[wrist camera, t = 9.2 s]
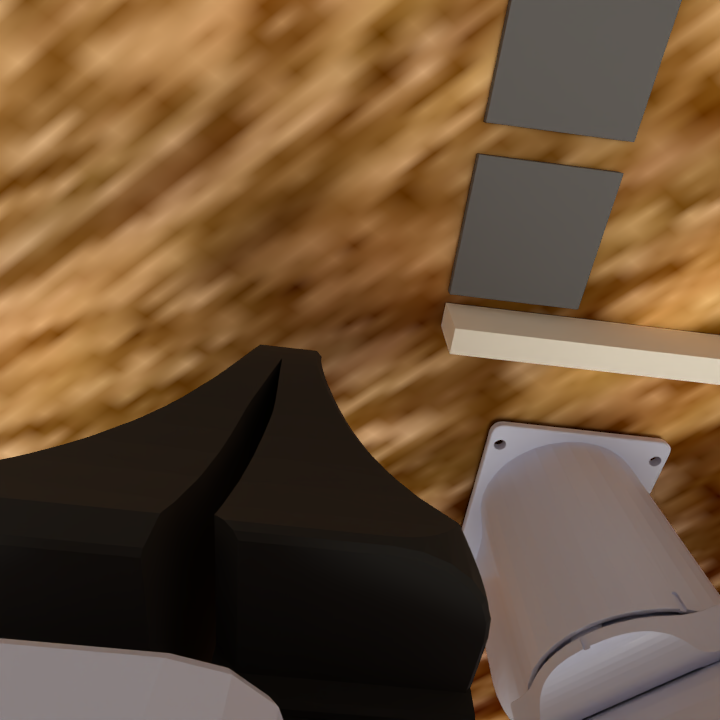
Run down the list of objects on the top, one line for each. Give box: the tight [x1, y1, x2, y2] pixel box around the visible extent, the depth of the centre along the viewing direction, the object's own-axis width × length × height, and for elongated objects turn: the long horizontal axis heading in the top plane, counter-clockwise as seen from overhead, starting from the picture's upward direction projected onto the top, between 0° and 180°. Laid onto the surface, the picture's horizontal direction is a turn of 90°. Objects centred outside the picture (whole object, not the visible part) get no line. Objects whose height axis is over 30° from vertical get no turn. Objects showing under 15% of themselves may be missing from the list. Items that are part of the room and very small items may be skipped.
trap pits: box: [448, 0, 682, 309], centre depth 18 cm, size 11×5×1 cm, turn 173°
